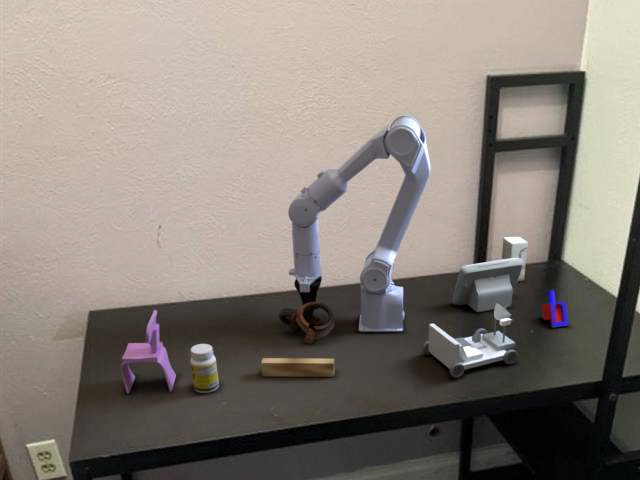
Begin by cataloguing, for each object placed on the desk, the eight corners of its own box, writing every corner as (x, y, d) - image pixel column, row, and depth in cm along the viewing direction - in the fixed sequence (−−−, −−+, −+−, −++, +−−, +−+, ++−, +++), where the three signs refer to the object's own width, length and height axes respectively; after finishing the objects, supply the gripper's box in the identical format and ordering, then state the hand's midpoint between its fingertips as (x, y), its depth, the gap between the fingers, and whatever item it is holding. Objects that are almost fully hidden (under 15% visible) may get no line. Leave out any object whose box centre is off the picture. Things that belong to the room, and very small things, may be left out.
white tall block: (524, 281, 192) (528, 242, 187) (508, 283, 191) (511, 244, 186) (515, 273, 197) (519, 235, 192) (499, 275, 196) (502, 237, 191)
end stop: (334, 371, 153) (334, 358, 152) (334, 376, 152) (333, 363, 150) (263, 371, 154) (262, 358, 152) (262, 376, 152) (261, 362, 151)
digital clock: (513, 293, 186) (517, 251, 181) (526, 309, 178) (530, 265, 173) (447, 298, 184) (449, 255, 178) (457, 314, 176) (459, 270, 171)
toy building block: (559, 326, 174) (555, 290, 173) (568, 325, 170) (564, 288, 169) (544, 328, 173) (540, 292, 173) (553, 327, 169) (549, 290, 169)
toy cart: (499, 294, 161) (532, 315, 152) (495, 337, 166) (528, 360, 157) (423, 310, 154) (453, 334, 145) (421, 354, 159) (451, 379, 150)
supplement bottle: (195, 381, 150) (190, 343, 146) (220, 380, 151) (215, 341, 146) (192, 394, 146) (187, 354, 142) (218, 393, 147) (213, 353, 142)
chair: (131, 374, 153) (118, 304, 145) (177, 372, 153) (166, 302, 146) (123, 396, 146) (109, 323, 138) (170, 394, 146) (159, 321, 139)
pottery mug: (331, 324, 173) (339, 301, 166) (326, 358, 168) (334, 337, 161) (278, 312, 171) (284, 289, 165) (271, 347, 166) (277, 324, 159)
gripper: (291, 239, 172) (295, 296, 178) (283, 263, 159) (287, 323, 166) (323, 239, 171) (326, 296, 178) (318, 263, 159) (320, 324, 166)
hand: (309, 309), depth 172 cm, fingers closed
